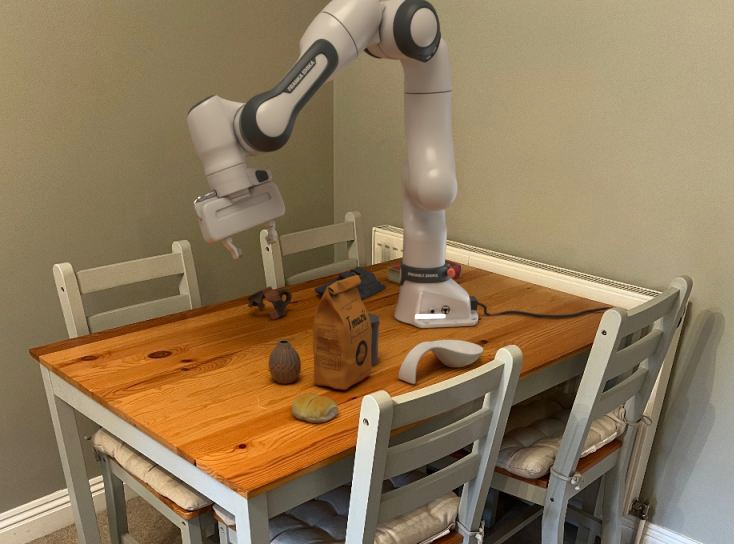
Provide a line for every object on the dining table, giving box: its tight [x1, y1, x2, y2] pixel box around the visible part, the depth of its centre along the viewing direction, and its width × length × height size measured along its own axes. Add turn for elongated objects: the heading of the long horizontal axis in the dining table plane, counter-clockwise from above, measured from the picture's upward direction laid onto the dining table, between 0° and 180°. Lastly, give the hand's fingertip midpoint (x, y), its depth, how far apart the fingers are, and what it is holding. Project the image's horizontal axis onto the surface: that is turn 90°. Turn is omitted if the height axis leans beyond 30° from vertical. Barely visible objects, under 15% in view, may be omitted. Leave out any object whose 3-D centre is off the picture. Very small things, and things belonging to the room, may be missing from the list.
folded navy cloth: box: [314, 266, 386, 300], centre depth 217 cm, size 15×22×5 cm
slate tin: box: [367, 312, 381, 367], centre depth 169 cm, size 7×7×10 cm
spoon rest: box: [397, 339, 484, 385], centre depth 166 cm, size 24×12×7 cm, turn 137°
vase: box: [268, 339, 302, 385], centre depth 159 cm, size 7×7×9 cm
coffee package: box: [312, 275, 373, 391], centre depth 156 cm, size 10×12×22 cm
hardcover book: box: [385, 259, 463, 286], centre depth 229 cm, size 12×21×4 cm, turn 131°
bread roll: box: [291, 392, 339, 424], centre depth 146 cm, size 8×9×4 cm
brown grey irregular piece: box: [247, 285, 293, 321], centre depth 198 cm, size 12×10×8 cm
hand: (255, 250), depth 161 cm, fingers open, 8 cm apart
